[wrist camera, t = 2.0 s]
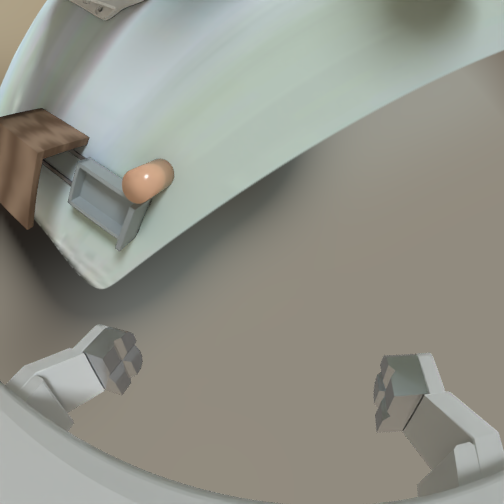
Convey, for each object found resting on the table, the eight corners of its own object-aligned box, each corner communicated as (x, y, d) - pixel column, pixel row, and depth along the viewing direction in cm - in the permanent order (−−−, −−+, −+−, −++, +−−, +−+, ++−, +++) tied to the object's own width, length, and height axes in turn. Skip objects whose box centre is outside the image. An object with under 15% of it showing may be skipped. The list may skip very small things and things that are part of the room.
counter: (28, 169, 36) (-13, 188, 27) (42, 108, 31) (-6, 118, 22) (131, 248, 40) (93, 285, 31) (160, 182, 34) (115, 209, 25)
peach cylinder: (142, 178, 34) (117, 192, 29) (154, 153, 32) (128, 162, 27) (166, 194, 35) (144, 210, 30) (179, 168, 33) (157, 180, 28)
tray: (78, 196, 37) (59, 206, 33) (89, 157, 33) (69, 164, 30) (135, 236, 38) (119, 251, 35) (151, 198, 35) (134, 210, 31)
